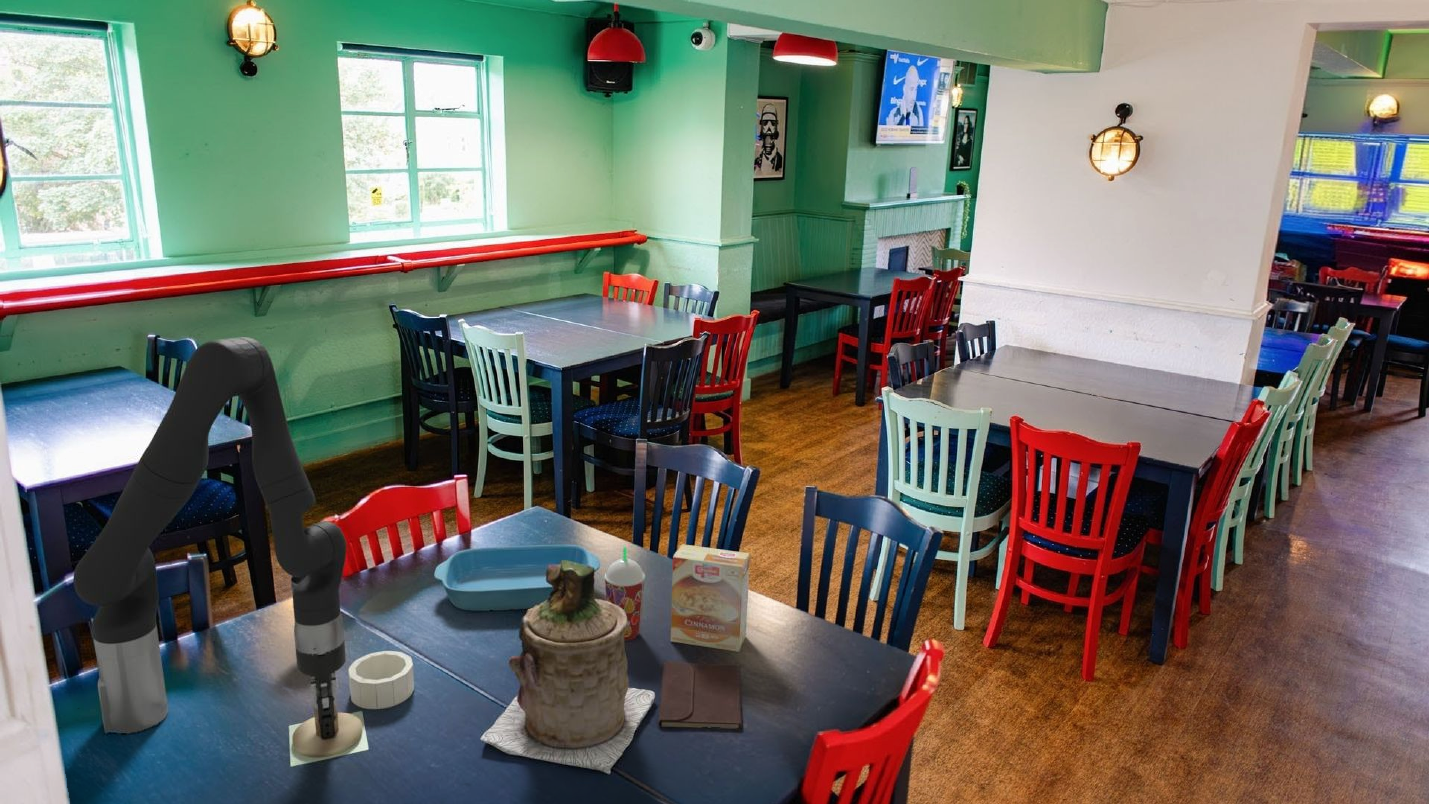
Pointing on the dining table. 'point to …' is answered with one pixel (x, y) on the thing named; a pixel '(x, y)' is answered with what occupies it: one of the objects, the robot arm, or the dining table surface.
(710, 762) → the dining table surface
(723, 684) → the notebook
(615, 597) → the smoothie
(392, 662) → the bowl
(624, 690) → the cookie jar
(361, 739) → the mat
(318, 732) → the lid
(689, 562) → the coffeecake box
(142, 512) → the robot arm
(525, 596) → the casserole dish
